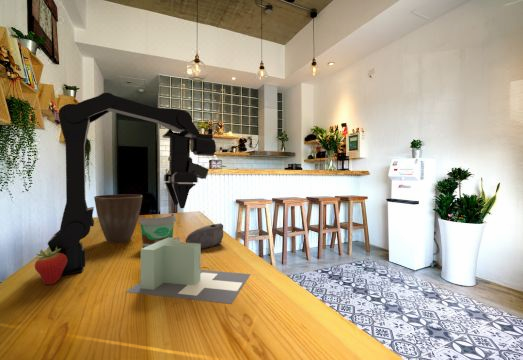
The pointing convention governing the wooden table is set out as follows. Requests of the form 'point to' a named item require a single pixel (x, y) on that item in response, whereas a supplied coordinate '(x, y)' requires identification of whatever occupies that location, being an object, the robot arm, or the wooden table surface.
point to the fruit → (50, 265)
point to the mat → (201, 287)
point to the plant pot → (118, 215)
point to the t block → (170, 263)
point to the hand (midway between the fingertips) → (178, 206)
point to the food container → (156, 229)
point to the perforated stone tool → (207, 235)
